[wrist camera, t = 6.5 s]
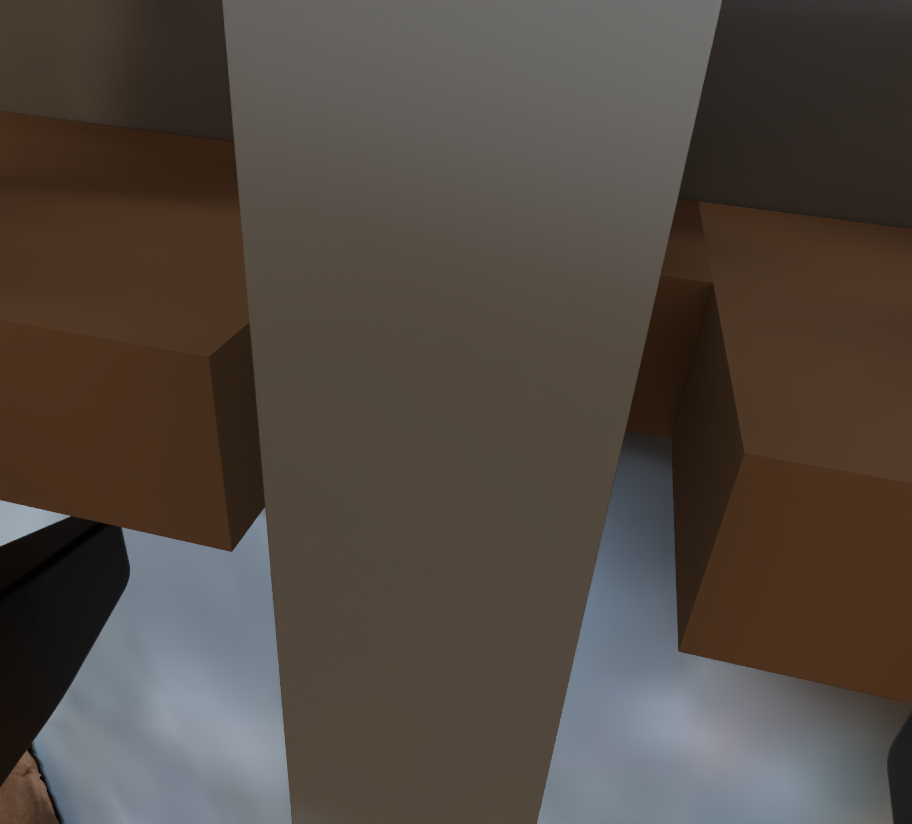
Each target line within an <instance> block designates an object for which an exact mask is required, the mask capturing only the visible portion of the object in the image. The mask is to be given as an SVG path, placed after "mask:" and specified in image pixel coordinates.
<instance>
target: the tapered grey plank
mask: <svg viewBox="0 0 912 824" xmlns="http://www.w3.org/2000/svg"><path fill="white" fill-rule="evenodd" d="M222 3H223V15H224V26H225V38H226V50H227V62H228V74H229V85H230V97H231V109H232V121H233V132H234V144H235V156H236V168H237V180H238V191H239V203H240V215H241V227H242V238H243V250H244V262H245V274H246V286H247V297H248V309H249V321H250V333H251V344H252V356H253V368H254V380H255V392H256V403H257V415H258V427H259V439H260V451H261V462H262V474H263V486H264V498H265V509H266V521H267V533H268V545H269V557H270V568H271V580H272V592H273V604H274V615H275V627H276V639H277V651H278V663H279V674H280V686H281V698H282V710H283V721H284V733H285V745H286V757H287V769H288V780H289V792H290V804H291V816H292V824H537V820H538V816H539V811H540V807H541V802H542V798H543V793H544V789H545V784H546V780H547V776H548V771H549V767H550V762H551V758H552V753H553V749H554V745H555V740H556V736H557V731H558V727H559V722H560V718H561V713H562V709H563V705H564V700H565V696H566V691H567V687H568V682H569V678H570V674H571V669H572V665H573V660H574V656H575V651H576V647H577V642H578V638H579V634H580V629H581V625H582V620H583V616H584V611H585V607H586V603H587V598H588V594H589V589H590V585H591V580H592V576H593V571H594V567H595V563H596V558H597V554H598V549H599V545H600V540H601V536H602V532H603V527H604V523H605V518H606V514H607V509H608V505H609V500H610V496H611V492H612V487H613V483H614V478H615V474H616V469H617V465H618V461H619V456H620V452H621V447H622V443H623V438H624V434H625V430H626V425H627V421H628V416H629V412H630V407H631V403H632V398H633V394H634V390H635V385H636V381H637V376H638V372H639V367H640V363H641V359H642V354H643V350H644V345H645V341H646V336H647V332H648V327H649V323H650V319H651V314H652V310H653V305H654V301H655V296H656V292H657V288H658V283H659V279H660V274H661V270H662V265H663V261H664V256H665V252H666V248H667V243H668V239H669V234H670V230H671V225H672V221H673V217H674V212H675V208H676V203H677V199H678V194H679V190H680V185H681V181H682V177H683V172H684V168H685V163H686V159H687V154H688V150H689V146H690V141H691V137H692V132H693V128H694V123H695V119H696V114H697V110H698V106H699V101H700V97H701V92H702V88H703V83H704V79H705V75H706V70H707V66H708V61H709V57H710V52H711V48H712V43H713V39H714V35H715V30H716V26H717V21H718V17H719V12H720V8H721V4H722V0H222Z"/></svg>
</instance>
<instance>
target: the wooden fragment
mask: <svg viewBox="0 0 912 824" xmlns="http://www.w3.org/2000/svg"><path fill="white" fill-rule="evenodd" d="M40 776H41V774H39V772H38V768H37V765H36V763H35V760H34V759H33V758H32V757H31V755H30V754H29V753H28V751H26V752H25V753H24V755H23V756H22V758H21V759H20V761H19V762H18V763H17V765H16V766H15V768H14V769H13V771H12V772H11V773H10V775H9V776H8V778H7V779H6V781H5V782H4V783H3V785H2V786H1V788H0V824H60V823H59V822H58V820H57V818H56V816H55V813H54V810H53V807H52V804H51V801H50V799H49V797H48V796H47V795H48V793H47V792H46V790H47V788H46V786H45V784H44V782H43V781H42V780H41V779H39V777H40Z"/></svg>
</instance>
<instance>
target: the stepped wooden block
mask: <svg viewBox="0 0 912 824" xmlns="http://www.w3.org/2000/svg"><path fill="white" fill-rule="evenodd" d="M625 431H631V432H637V433H642V434H648V435H653V436H659V437H665V438H670V439H672V469H673V499H674V529H675V559H676V590H677V620H678V650H679V652H683V653H688V654H692V655H697V656H701V657H706V658H710V659H714V660H719V661H723V662H728V663H732V664H737V665H741V666H746V667H750V668H755V669H759V670H764V671H768V672H773V673H777V674H782V675H786V676H791V677H795V678H800V679H804V680H809V681H813V682H817V683H822V684H826V685H831V686H835V687H840V688H844V689H849V690H853V691H858V692H862V693H867V694H871V695H876V696H880V697H885V698H889V699H894V700H898V701H903V702H907V703H912V229H910V228H903V227H895V226H887V225H879V224H871V223H864V222H856V221H848V220H840V219H832V218H825V217H817V216H809V215H801V214H793V213H786V212H778V211H770V210H762V209H754V208H747V207H739V206H731V205H723V204H715V203H708V202H700V201H692V200H684V199H677V203H676V208H675V212H674V217H673V221H672V225H671V230H670V234H669V239H668V243H667V248H666V252H665V256H664V261H663V265H662V270H661V274H660V279H659V283H658V288H657V292H656V296H655V301H654V305H653V310H652V314H651V319H650V323H649V327H648V332H647V336H646V341H645V345H644V350H643V354H642V359H641V363H640V367H639V372H638V376H637V381H636V385H635V390H634V394H633V398H632V403H631V407H630V412H629V416H628V421H627V425H626V430H625ZM0 500H2V501H7V502H11V503H16V504H20V505H25V506H29V507H34V508H38V509H43V510H47V511H52V512H56V513H61V514H65V515H70V516H74V517H79V518H83V519H87V520H92V521H96V522H101V523H105V524H110V525H114V526H119V527H123V528H128V529H132V530H137V531H141V532H146V533H150V534H155V535H159V536H164V537H168V538H173V539H177V540H182V541H186V542H190V543H195V544H199V545H204V546H208V547H213V548H217V549H222V550H226V551H231V552H232V551H233V550H234V548H235V547H236V546H237V544H238V543H239V541H240V540H241V539H242V537H243V536H244V535H245V533H246V532H247V530H248V529H249V528H250V526H251V525H252V524H253V522H254V521H255V520H256V518H257V517H258V515H259V514H260V513H261V511H262V510H263V509H264V507H265V498H264V486H263V474H262V462H261V451H260V439H259V427H258V415H257V403H256V392H255V380H254V368H253V356H252V344H251V333H250V321H249V309H248V297H247V286H246V274H245V262H244V250H243V238H242V227H241V215H240V203H239V191H238V180H237V168H236V156H235V144H234V142H232V141H224V140H216V139H209V138H201V137H193V136H185V135H177V134H170V133H162V132H154V131H146V130H138V129H131V128H123V127H115V126H107V125H100V124H92V123H84V122H76V121H68V120H61V119H53V118H45V117H37V116H29V115H22V114H14V113H6V112H0Z"/></svg>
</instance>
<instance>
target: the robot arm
mask: <svg viewBox="0 0 912 824" xmlns="http://www.w3.org/2000/svg"><path fill="white" fill-rule="evenodd" d="M129 576H130V564H129V560H128V555H127V550H126V546H125V541H124V536H123V532H122V527H119V526H114V525H110V524H105V523H101V522H96V521H92V520H87V519H83V518H79V517H74V516H70V517H68V518H66V519H63V520H61V521H59V522H56V523H54V524H52V525H49V526H47V527H45V528H42V529H40V530H37V531H35V532H33V533H30V534H28V535H26V536H23V537H21V538H19V539H16V540H14V541H12V542H9V543H7V544H5V545H2V546H0V788H1V786H2V785H3V783H4V782H5V781H6V779H7V778H8V776H9V775H10V773H11V772H12V771H13V769H14V768H15V766H16V765H17V763H18V762H19V761H20V759H21V758H22V756H23V755H24V753H25V752H26V751H27V749H28V748H29V746H30V745H31V743H32V742H33V741H34V739H35V738H36V736H37V735H38V734H39V732H40V731H41V729H42V728H43V726H44V725H45V724H46V722H47V721H48V719H49V718H50V716H51V715H52V713H53V712H54V710H55V709H56V707H57V706H58V704H59V703H60V701H61V700H62V698H63V697H64V695H65V693H66V692H67V690H68V688H69V687H70V685H71V683H72V682H73V680H74V678H75V677H76V675H77V673H78V671H79V670H80V668H81V666H82V664H83V662H84V661H85V659H86V657H87V655H88V654H89V652H90V650H91V648H92V647H93V645H94V643H95V641H96V639H97V638H98V636H99V634H100V632H101V631H102V629H103V627H104V625H105V624H106V622H107V620H108V618H109V616H110V615H111V613H112V611H113V609H114V608H115V606H116V604H117V602H118V601H119V599H120V597H121V595H122V593H123V592H124V590H125V588H126V586H127V583H128V580H129ZM887 770H888V780H889V788H890V797H891V806H892V815H893V824H912V712H911V714H910V715H909V717H908V718H907V720H906V722H905V723H904V725H903V727H902V728H901V730H900V731H899V733H898V735H897V736H896V738H895V740H894V741H893V743H892V745H891V747H890V750H889V753H888V760H887Z"/></svg>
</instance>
